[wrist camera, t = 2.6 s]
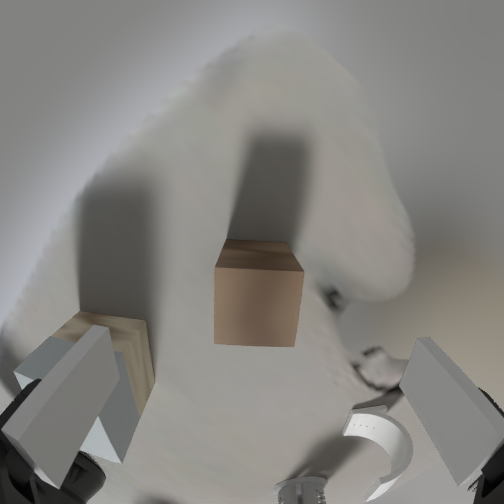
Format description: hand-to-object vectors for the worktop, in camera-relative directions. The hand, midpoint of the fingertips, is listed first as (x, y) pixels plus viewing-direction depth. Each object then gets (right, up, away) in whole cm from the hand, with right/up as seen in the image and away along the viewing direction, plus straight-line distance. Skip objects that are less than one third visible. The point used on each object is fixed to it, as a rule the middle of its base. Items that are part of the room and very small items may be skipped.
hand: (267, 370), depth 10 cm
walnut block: (0, +3, +14) cm, 14 cm away
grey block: (-15, -7, +10) cm, 19 cm away
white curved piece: (+14, -17, +19) cm, 29 cm away
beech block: (-15, -6, +16) cm, 22 cm away
